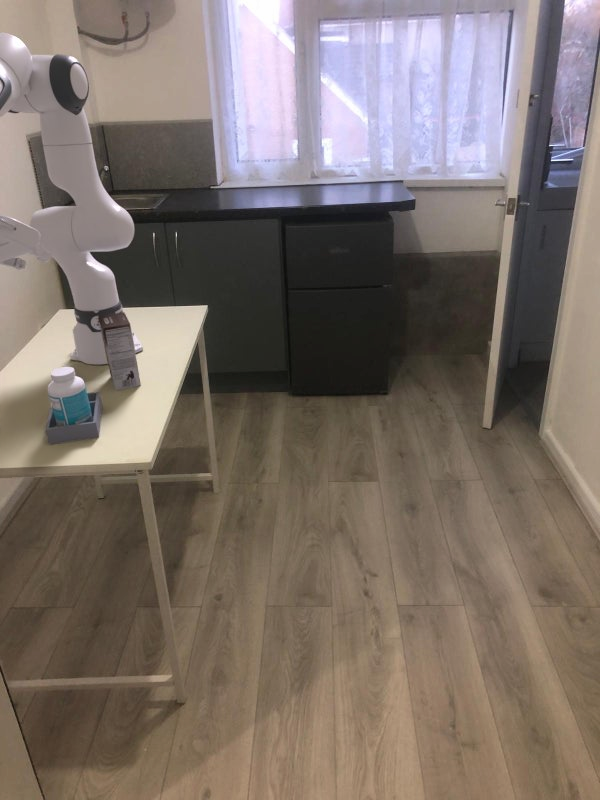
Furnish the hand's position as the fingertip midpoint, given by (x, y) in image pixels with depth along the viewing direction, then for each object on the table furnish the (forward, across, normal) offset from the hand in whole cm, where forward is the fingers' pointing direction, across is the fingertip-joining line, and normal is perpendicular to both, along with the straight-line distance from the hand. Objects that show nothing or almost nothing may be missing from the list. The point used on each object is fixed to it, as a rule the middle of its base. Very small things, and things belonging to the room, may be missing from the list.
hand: (36, 262), depth 124 cm
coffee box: (+37, +16, +11) cm, 42 cm away
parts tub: (+23, +9, +26) cm, 36 cm away
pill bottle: (+22, +8, +27) cm, 36 cm away
